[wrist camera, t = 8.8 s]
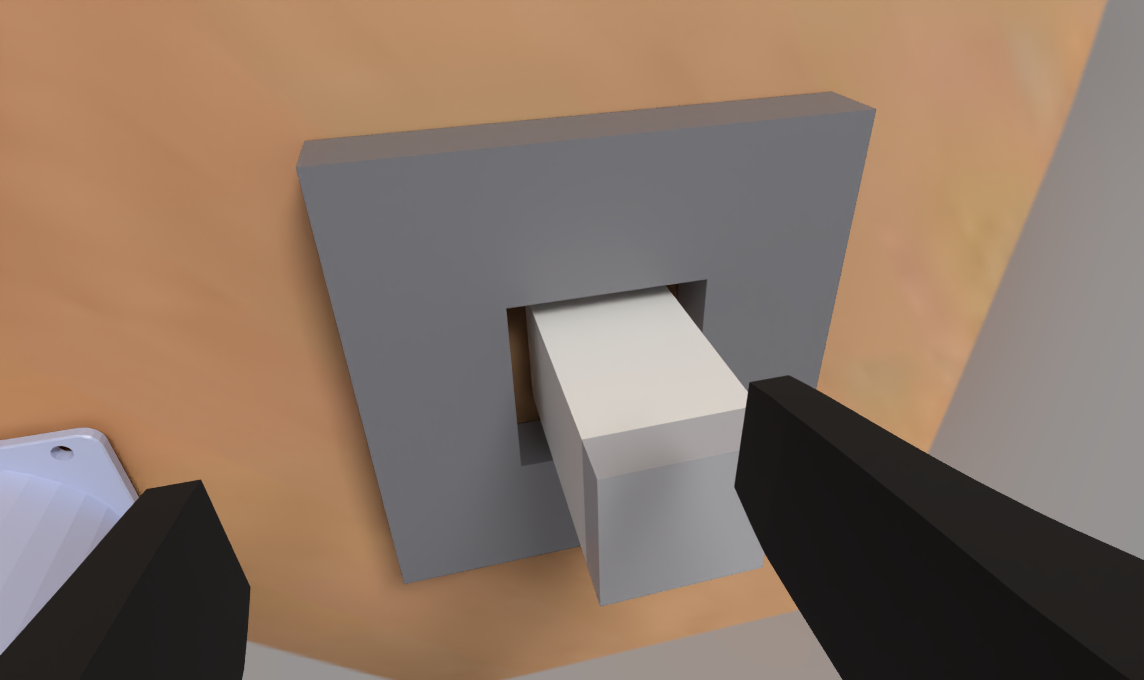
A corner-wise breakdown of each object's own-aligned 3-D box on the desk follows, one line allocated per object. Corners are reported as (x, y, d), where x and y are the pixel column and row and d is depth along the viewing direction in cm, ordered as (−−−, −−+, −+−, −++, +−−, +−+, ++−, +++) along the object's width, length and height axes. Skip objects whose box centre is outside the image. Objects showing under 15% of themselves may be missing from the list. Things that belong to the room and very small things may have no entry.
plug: (533, 397, 22) (600, 606, 15) (523, 289, 19) (597, 479, 13) (649, 376, 22) (761, 567, 16) (653, 269, 20) (785, 440, 14)
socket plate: (402, 537, 24) (404, 599, 21) (304, 141, 16) (292, 176, 14) (766, 463, 26) (800, 512, 24) (832, 91, 18) (891, 115, 16)
